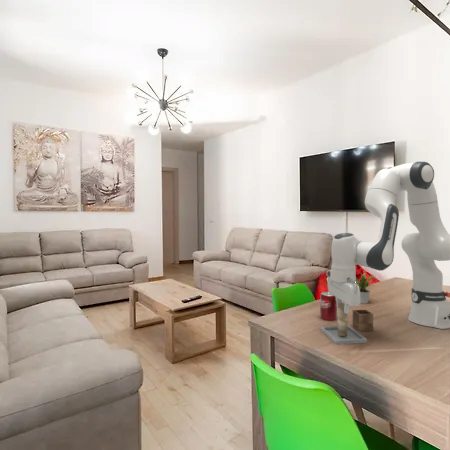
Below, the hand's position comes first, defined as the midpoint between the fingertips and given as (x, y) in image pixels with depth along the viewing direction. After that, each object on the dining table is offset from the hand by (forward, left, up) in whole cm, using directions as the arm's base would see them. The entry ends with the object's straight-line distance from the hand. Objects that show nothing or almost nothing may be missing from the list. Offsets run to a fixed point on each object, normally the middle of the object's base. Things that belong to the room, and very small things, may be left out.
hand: (342, 310), depth 124 cm
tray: (0, 0, -11) cm, 11 cm away
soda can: (-3, -20, -11) cm, 23 cm away
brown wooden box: (-12, -7, -11) cm, 17 cm away
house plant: (-33, -43, -11) cm, 55 cm away
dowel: (0, 0, -9) cm, 9 cm away
